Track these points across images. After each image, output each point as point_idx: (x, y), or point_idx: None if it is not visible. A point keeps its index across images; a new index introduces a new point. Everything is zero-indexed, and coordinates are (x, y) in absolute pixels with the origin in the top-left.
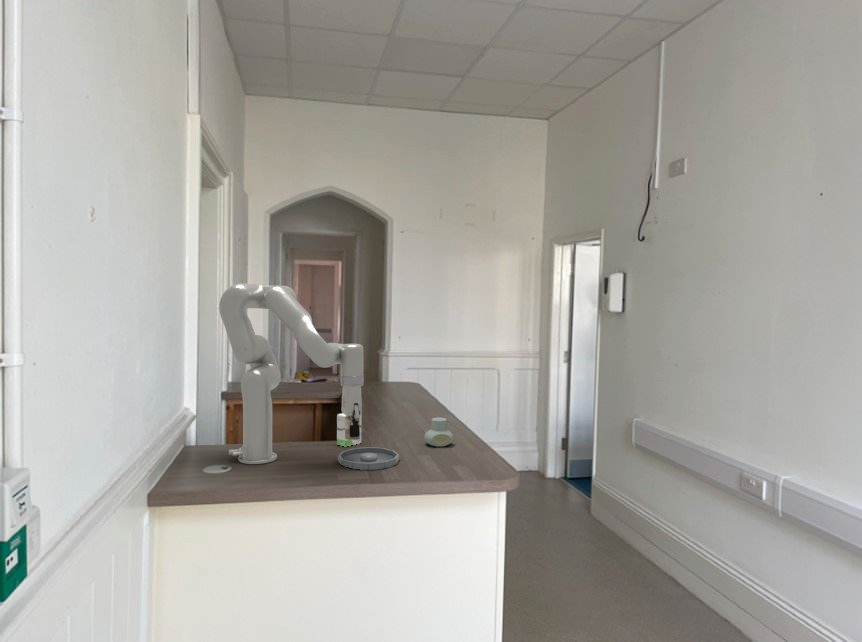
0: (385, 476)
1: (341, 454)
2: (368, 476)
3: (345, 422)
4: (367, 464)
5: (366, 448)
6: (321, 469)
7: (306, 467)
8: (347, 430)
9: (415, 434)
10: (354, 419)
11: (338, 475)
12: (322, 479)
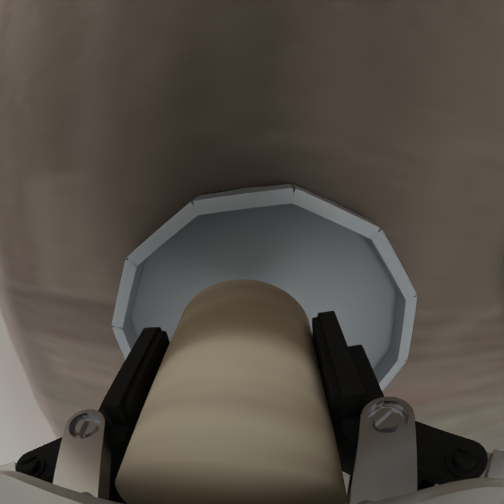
0: (66, 345)
1: (315, 213)
2: (58, 293)
3: (194, 398)
4: (113, 319)
5: (397, 350)
6: (163, 88)
7: (216, 15)
8: (177, 344)
9: (491, 442)
10: (17, 470)
11: (66, 175)
12: (32, 111)
